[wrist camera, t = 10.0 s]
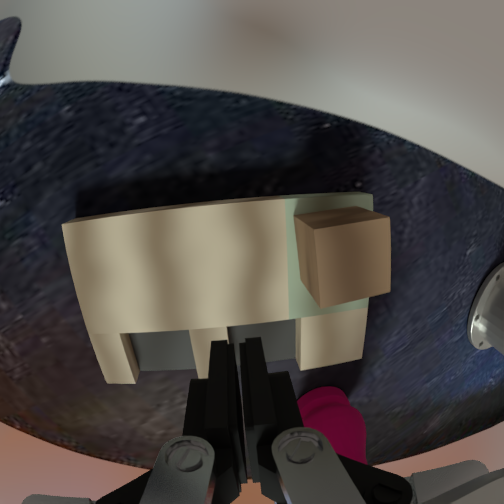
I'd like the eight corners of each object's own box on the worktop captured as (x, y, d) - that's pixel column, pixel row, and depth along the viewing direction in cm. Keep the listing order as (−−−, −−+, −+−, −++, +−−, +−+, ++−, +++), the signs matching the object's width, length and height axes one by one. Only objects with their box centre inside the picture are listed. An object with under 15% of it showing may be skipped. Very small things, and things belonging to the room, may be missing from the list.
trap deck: (359, 191, 24) (372, 194, 22) (352, 344, 28) (361, 358, 26) (75, 218, 22) (61, 224, 20) (113, 367, 26) (106, 383, 24)
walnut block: (356, 205, 22) (389, 217, 17) (359, 267, 23) (390, 291, 18) (293, 215, 22) (313, 229, 17) (300, 279, 23) (320, 308, 18)
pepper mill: (339, 371, 29) (425, 530, 10) (356, 407, 31) (425, 540, 12) (277, 401, 29) (323, 571, 10) (301, 433, 32) (346, 574, 12)
